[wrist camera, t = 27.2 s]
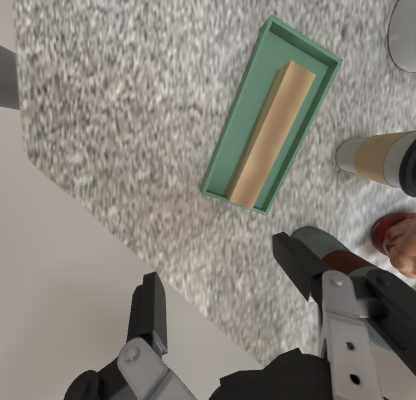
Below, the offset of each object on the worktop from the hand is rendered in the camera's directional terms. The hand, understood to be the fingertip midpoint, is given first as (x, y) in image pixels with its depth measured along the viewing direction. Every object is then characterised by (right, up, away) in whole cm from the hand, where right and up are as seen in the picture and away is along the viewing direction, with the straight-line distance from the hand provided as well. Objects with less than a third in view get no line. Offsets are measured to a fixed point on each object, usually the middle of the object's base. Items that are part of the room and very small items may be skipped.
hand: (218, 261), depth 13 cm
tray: (+9, +16, +21) cm, 28 cm away
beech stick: (+8, +14, +21) cm, 27 cm away
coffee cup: (+27, +13, +25) cm, 39 cm away
